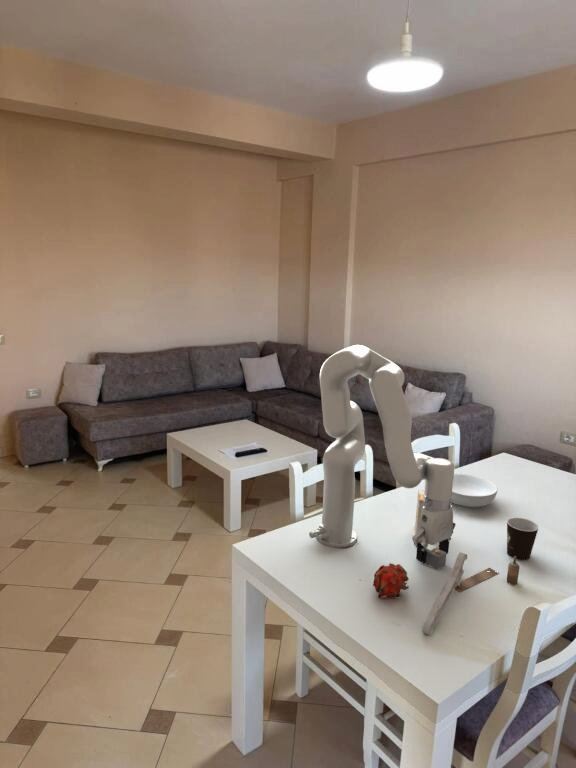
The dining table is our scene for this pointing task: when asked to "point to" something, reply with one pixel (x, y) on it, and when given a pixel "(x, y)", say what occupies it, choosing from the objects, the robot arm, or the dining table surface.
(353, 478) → the robot arm
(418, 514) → the supplement box
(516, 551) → the coffee mug
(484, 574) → the strip
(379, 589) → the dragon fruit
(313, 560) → the dining table surface
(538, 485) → the dining table surface
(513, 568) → the awl
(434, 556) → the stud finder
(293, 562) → the dining table surface
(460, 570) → the wrench
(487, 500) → the serving bowl
